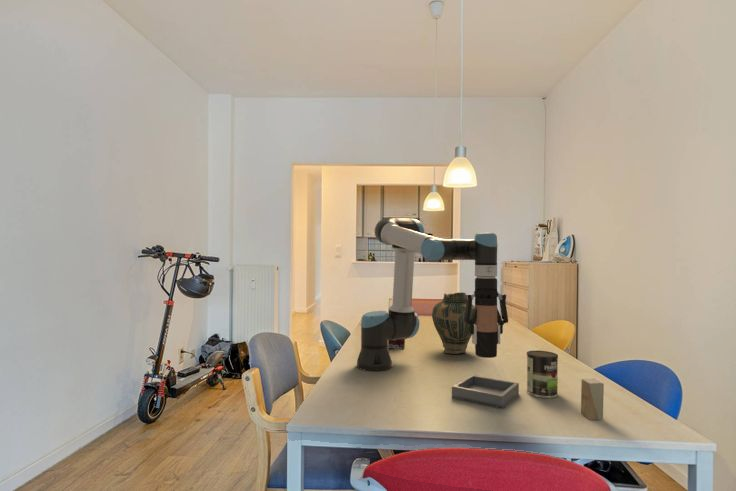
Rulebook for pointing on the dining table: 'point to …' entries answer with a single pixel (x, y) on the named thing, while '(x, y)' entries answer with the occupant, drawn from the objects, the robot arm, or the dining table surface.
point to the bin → (485, 391)
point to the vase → (452, 322)
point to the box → (592, 399)
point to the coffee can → (542, 374)
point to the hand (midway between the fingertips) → (486, 343)
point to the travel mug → (486, 327)
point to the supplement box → (397, 344)
